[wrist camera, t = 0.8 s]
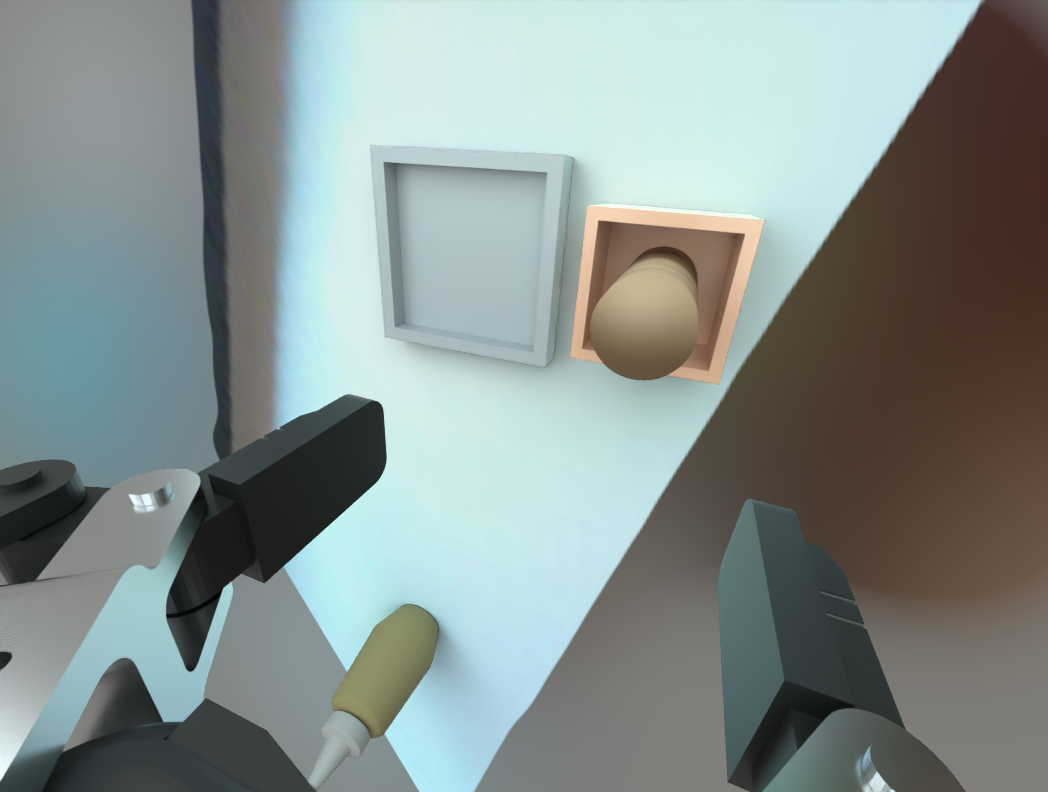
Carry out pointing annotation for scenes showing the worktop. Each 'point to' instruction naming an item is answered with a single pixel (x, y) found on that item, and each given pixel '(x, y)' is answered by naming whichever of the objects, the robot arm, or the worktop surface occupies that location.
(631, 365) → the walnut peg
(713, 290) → the terracotta box
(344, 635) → the worktop surface
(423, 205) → the slate tray
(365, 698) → the squeeze bottle
